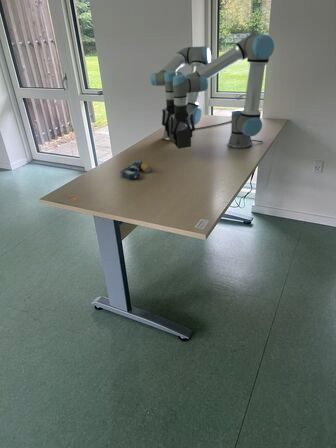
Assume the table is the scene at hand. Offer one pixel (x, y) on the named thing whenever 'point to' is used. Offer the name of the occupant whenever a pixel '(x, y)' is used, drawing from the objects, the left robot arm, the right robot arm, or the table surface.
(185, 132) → the box
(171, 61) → the left robot arm
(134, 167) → the spray gun
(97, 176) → the table surface
